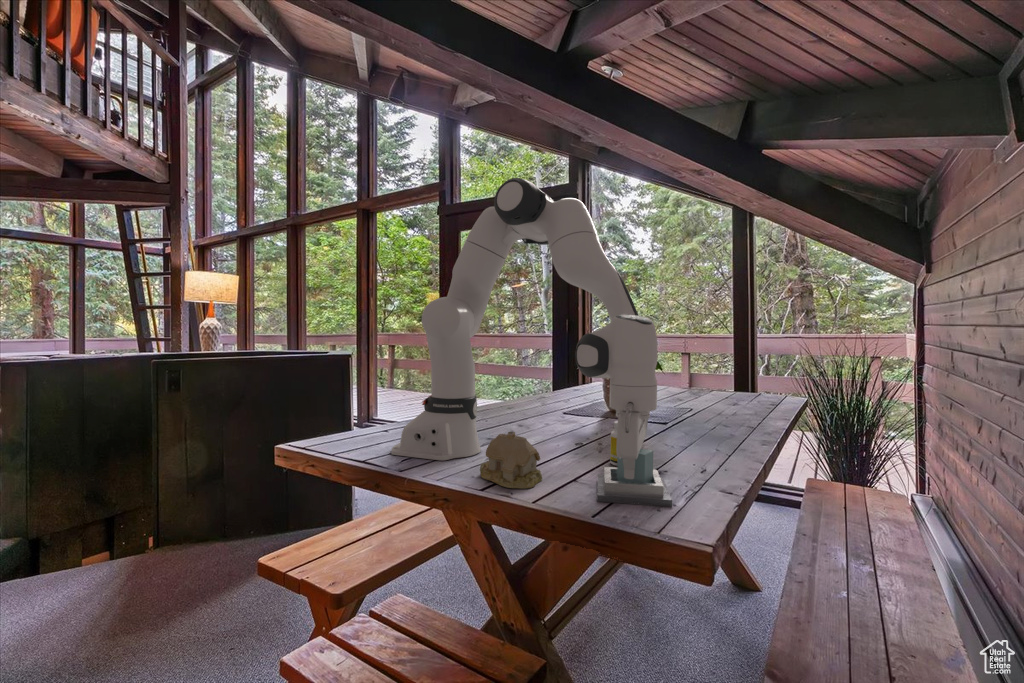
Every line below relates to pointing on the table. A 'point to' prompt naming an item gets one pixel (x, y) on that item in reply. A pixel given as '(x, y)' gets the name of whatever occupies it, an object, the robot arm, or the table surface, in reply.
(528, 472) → the ceramic model
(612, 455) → the supplement bottle
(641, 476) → the block
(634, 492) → the collar socket
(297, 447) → the table surface
